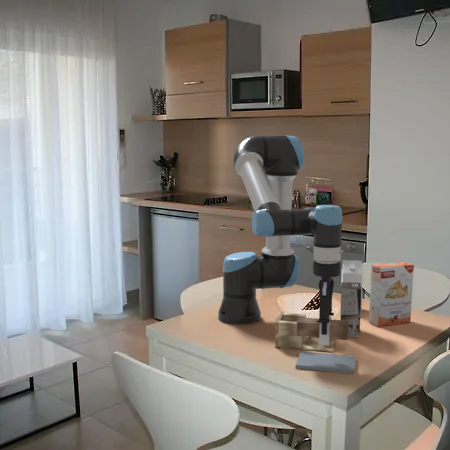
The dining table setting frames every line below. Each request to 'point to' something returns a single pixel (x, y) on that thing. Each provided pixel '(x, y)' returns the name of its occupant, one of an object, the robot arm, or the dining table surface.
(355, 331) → the coffee box
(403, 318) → the cracker box
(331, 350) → the holder
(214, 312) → the dining table surface
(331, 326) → the bar
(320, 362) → the mat
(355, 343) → the dining table surface
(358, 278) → the milk carton
